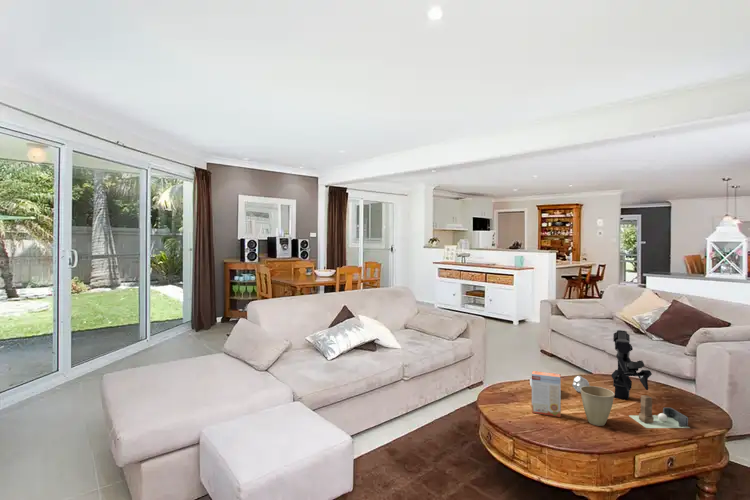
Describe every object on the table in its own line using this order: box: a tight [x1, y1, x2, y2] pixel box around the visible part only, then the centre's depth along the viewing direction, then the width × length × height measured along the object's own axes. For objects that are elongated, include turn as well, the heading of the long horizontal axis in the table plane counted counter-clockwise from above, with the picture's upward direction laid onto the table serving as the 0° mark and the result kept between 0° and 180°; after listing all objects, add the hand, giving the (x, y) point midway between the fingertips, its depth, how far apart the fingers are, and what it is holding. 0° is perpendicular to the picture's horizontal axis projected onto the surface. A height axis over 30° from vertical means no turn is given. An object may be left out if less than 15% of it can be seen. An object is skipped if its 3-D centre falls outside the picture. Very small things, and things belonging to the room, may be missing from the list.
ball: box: [657, 412, 668, 422], centre depth 206 cm, size 4×4×4 cm
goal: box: [662, 407, 689, 427], centre depth 206 cm, size 4×12×4 cm, turn 0°
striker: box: [638, 394, 654, 423], centre depth 206 cm, size 4×4×12 cm
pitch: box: [628, 414, 691, 429], centre depth 206 cm, size 21×14×1 cm, turn 90°
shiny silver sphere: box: [572, 375, 590, 394], centre depth 247 cm, size 9×10×10 cm
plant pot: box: [580, 385, 615, 427], centre depth 206 cm, size 15×15×16 cm
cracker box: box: [531, 370, 562, 418], centre depth 218 cm, size 14×6×21 cm, turn 65°
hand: (638, 389), depth 213 cm, fingers open, 9 cm apart
